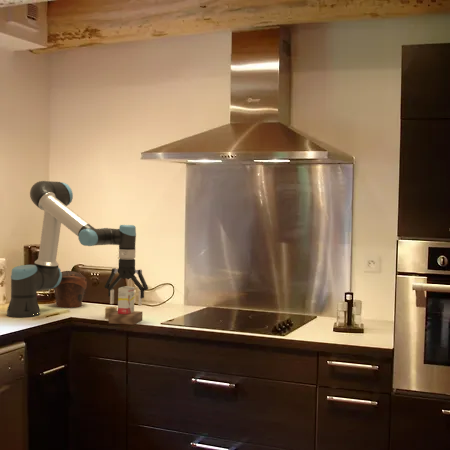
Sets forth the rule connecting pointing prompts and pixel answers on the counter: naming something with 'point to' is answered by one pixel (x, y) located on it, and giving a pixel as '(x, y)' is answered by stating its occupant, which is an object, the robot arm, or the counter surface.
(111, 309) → the oak cube
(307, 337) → the counter surface
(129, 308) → the ink box
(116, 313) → the pedestal
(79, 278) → the brown plant pot
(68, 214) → the robot arm
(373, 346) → the counter surface
